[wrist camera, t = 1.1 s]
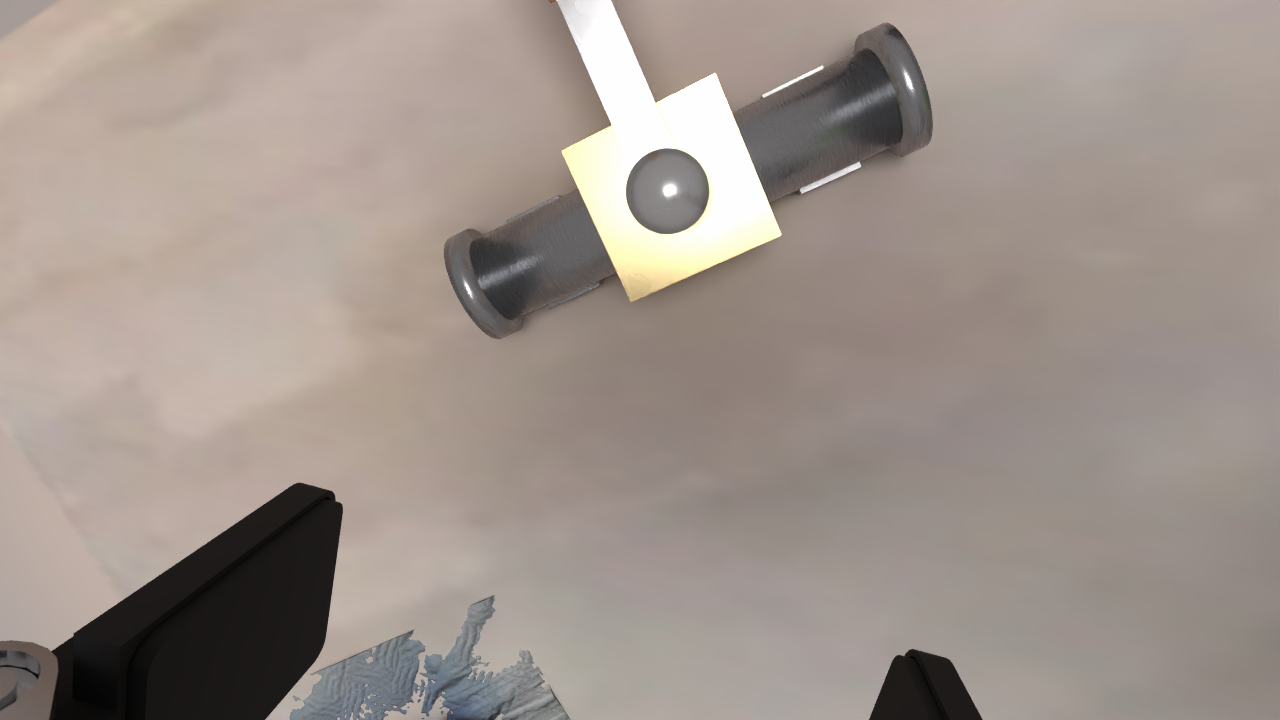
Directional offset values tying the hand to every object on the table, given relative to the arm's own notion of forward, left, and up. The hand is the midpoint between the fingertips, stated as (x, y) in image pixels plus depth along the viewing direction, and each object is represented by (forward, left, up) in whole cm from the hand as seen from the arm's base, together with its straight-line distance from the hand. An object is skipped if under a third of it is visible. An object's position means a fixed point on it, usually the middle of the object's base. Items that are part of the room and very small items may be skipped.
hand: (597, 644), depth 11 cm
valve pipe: (-3, -7, -26) cm, 27 cm away
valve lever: (-3, -12, -18) cm, 22 cm away
